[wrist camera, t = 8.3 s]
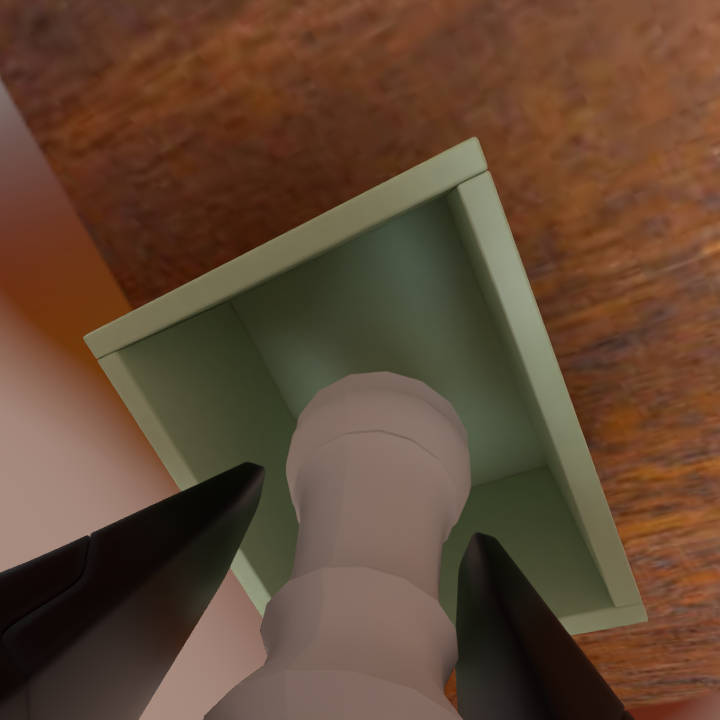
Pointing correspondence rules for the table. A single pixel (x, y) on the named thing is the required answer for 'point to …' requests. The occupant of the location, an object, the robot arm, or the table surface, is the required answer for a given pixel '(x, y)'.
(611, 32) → the table surface
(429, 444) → the rook chess piece
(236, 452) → the bin
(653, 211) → the table surface
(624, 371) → the table surface
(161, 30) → the table surface
